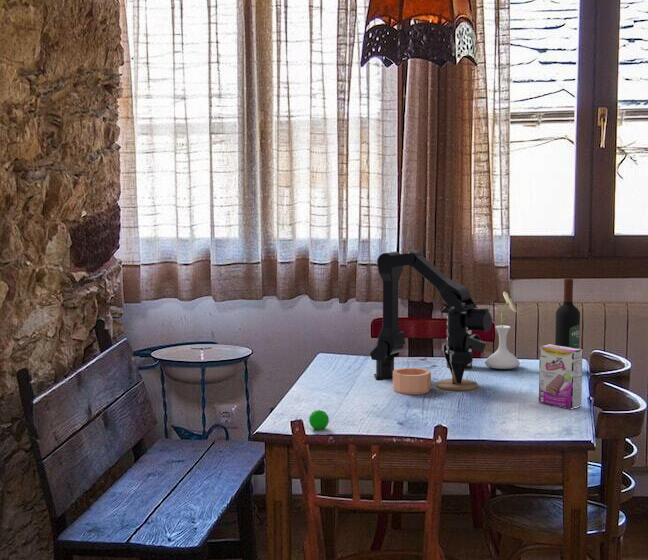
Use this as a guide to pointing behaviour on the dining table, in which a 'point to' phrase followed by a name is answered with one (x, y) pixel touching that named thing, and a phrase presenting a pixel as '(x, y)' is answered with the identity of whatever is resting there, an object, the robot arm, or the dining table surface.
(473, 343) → the robot arm
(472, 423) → the dining table surface
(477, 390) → the mat
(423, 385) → the bowl
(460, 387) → the lid
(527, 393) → the dining table surface
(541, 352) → the candy bar box
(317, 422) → the green ball
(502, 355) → the flower in vase
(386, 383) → the dining table surface
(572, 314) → the wine bottle
